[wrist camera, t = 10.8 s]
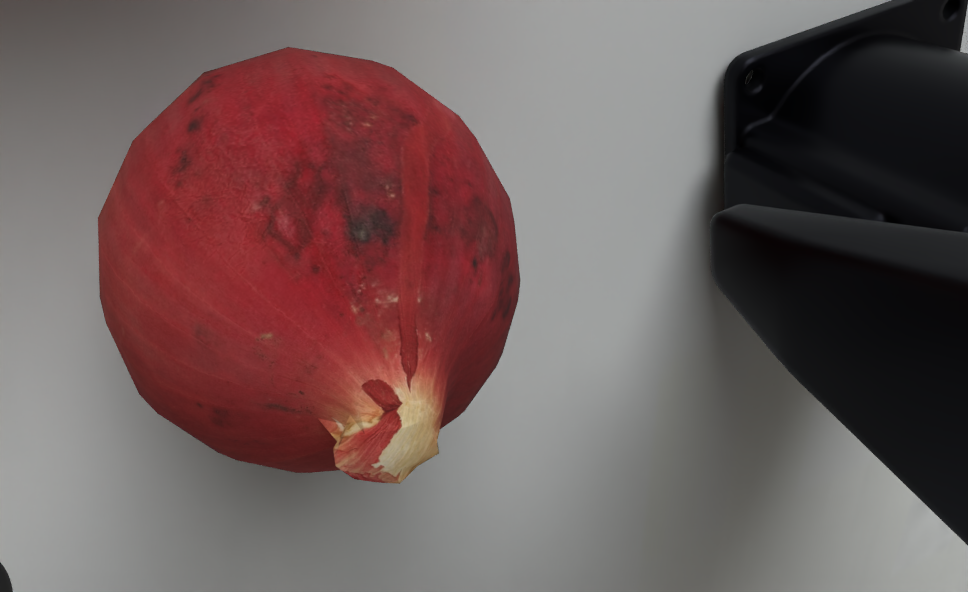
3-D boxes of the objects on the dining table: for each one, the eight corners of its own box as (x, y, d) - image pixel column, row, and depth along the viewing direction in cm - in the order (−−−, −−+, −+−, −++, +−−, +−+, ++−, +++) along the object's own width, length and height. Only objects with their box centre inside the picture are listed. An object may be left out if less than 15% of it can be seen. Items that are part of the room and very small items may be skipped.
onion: (96, -23, 12) (106, 146, 6) (446, 34, 15) (719, 194, 8) (94, 314, 15) (99, 693, 8) (394, 312, 17) (575, 600, 11)
